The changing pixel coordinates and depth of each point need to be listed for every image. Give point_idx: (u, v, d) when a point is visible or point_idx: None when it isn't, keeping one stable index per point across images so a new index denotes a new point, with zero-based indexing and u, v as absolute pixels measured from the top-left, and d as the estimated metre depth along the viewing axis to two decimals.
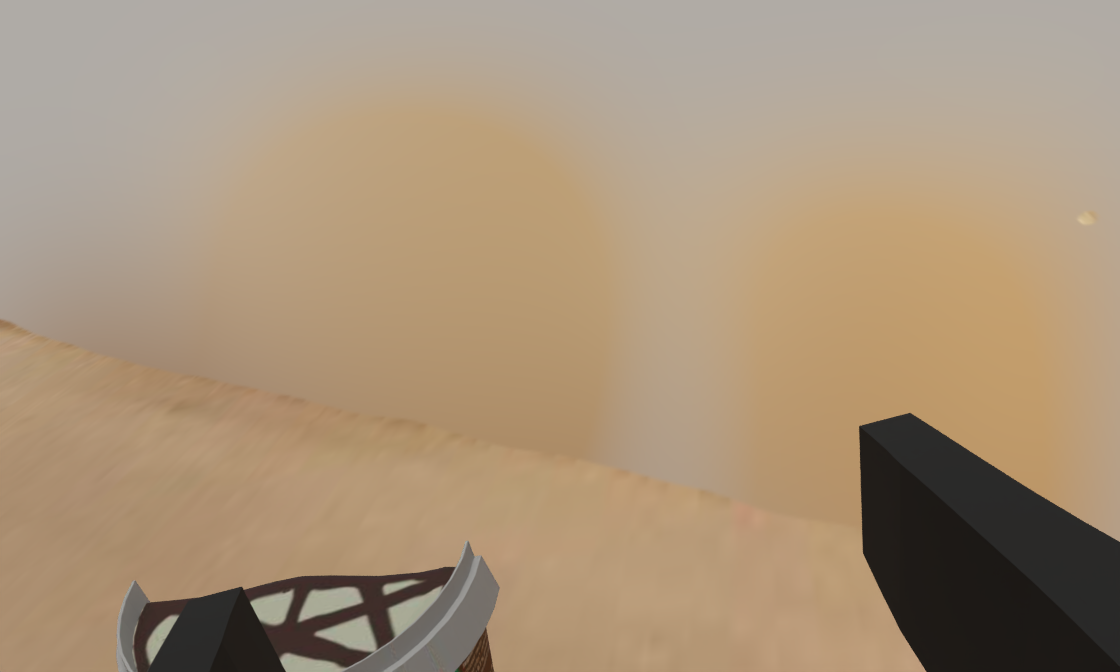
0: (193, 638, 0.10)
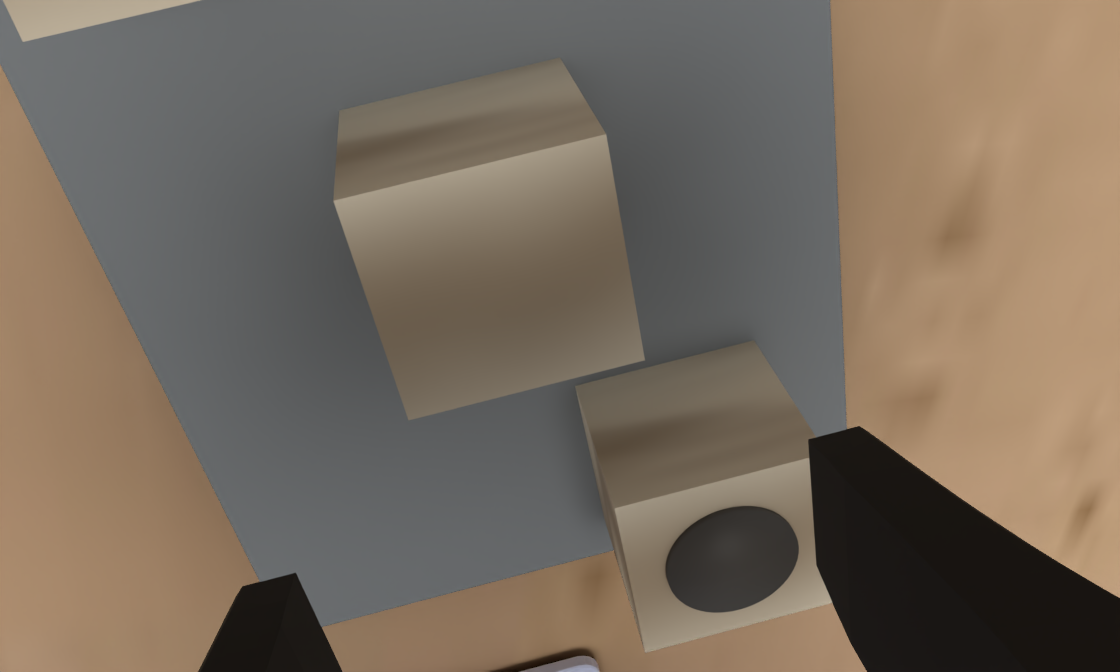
0: (252, 623, 0.10)
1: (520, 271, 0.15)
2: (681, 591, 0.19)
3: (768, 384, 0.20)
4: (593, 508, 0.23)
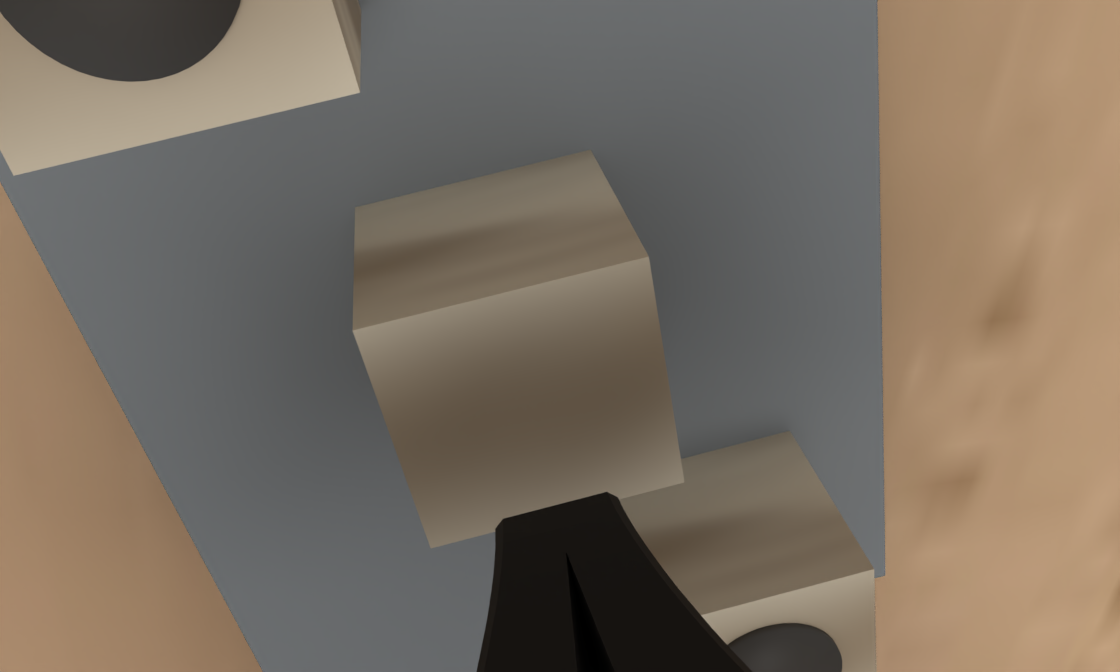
0: (533, 549, 0.10)
1: (552, 396, 0.14)
2: None
3: (807, 484, 0.19)
4: None
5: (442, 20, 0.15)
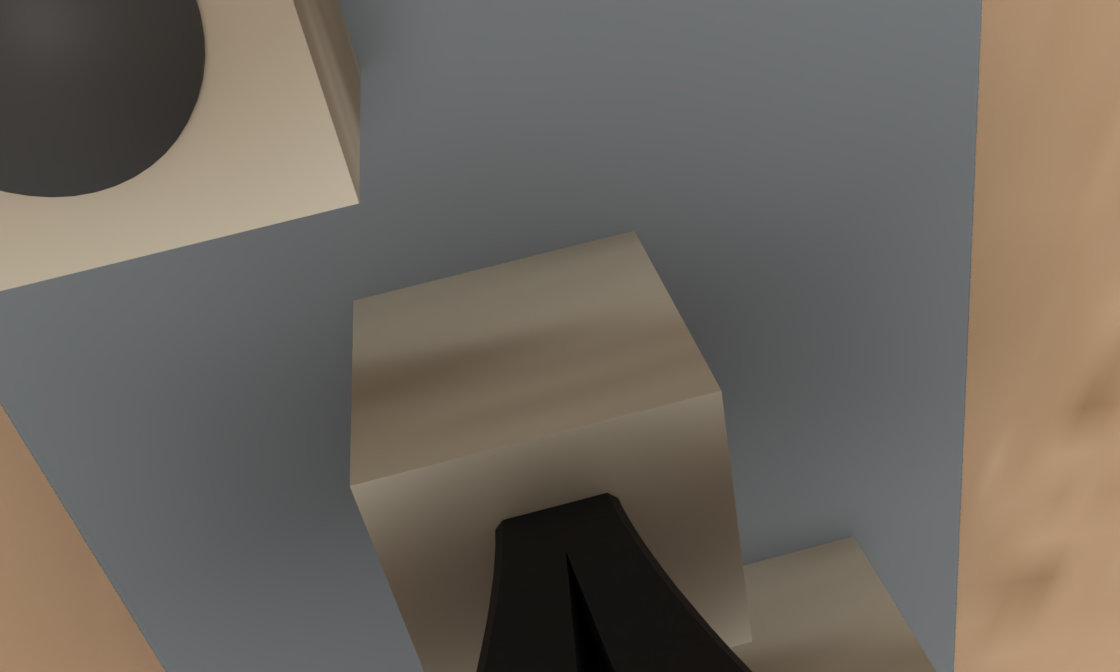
0: (532, 549, 0.10)
1: None
2: None
3: (880, 607, 0.16)
4: None
5: (459, 83, 0.12)
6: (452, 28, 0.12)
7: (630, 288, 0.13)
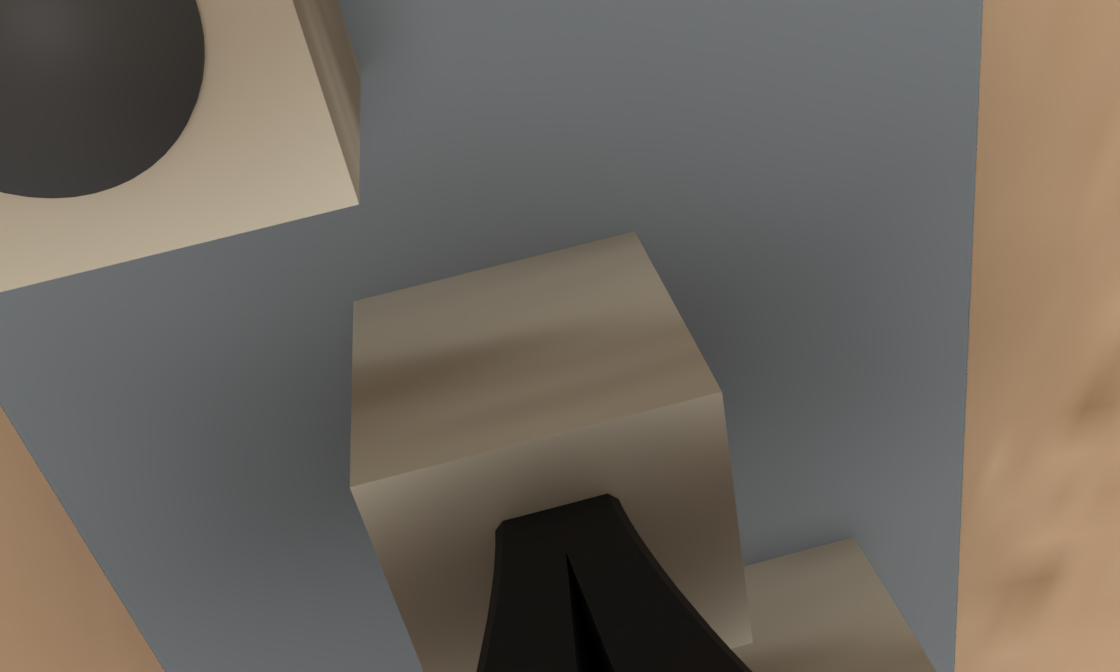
0: (532, 549, 0.10)
1: None
2: None
3: (880, 608, 0.16)
4: None
5: (459, 84, 0.12)
6: (452, 28, 0.12)
7: (630, 289, 0.13)
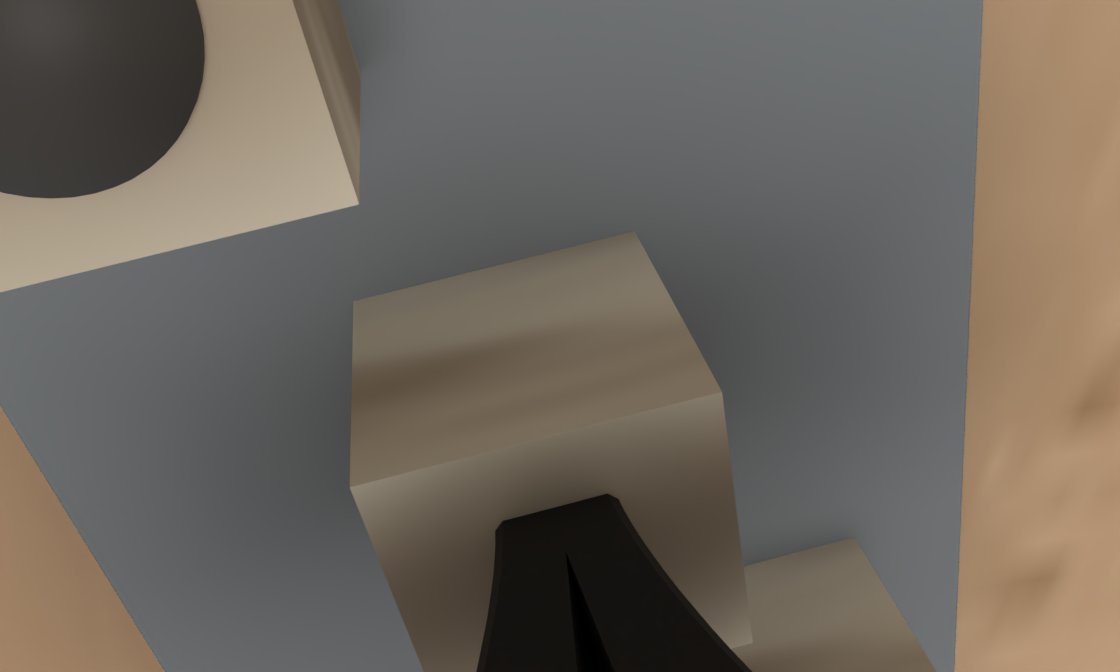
0: (532, 549, 0.10)
1: None
2: None
3: (880, 608, 0.16)
4: None
5: (459, 83, 0.12)
6: (452, 28, 0.12)
7: (630, 289, 0.13)
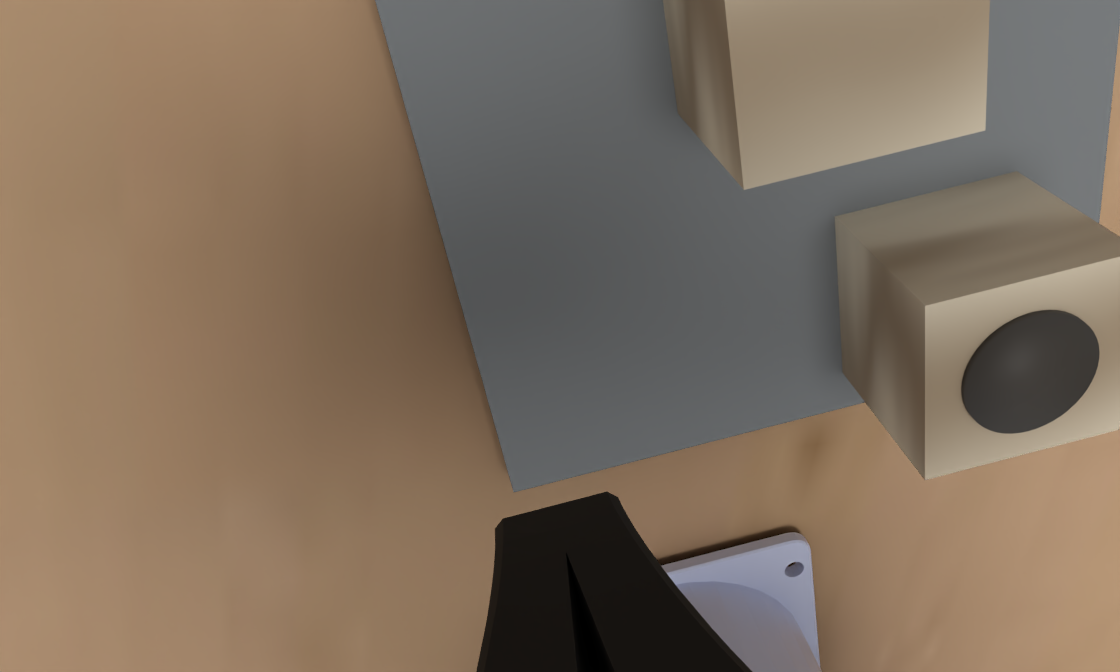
0: (532, 549, 0.10)
1: (883, 17, 0.15)
2: (975, 406, 0.18)
3: (1049, 203, 0.20)
4: (833, 357, 0.23)
5: None
6: None
7: None
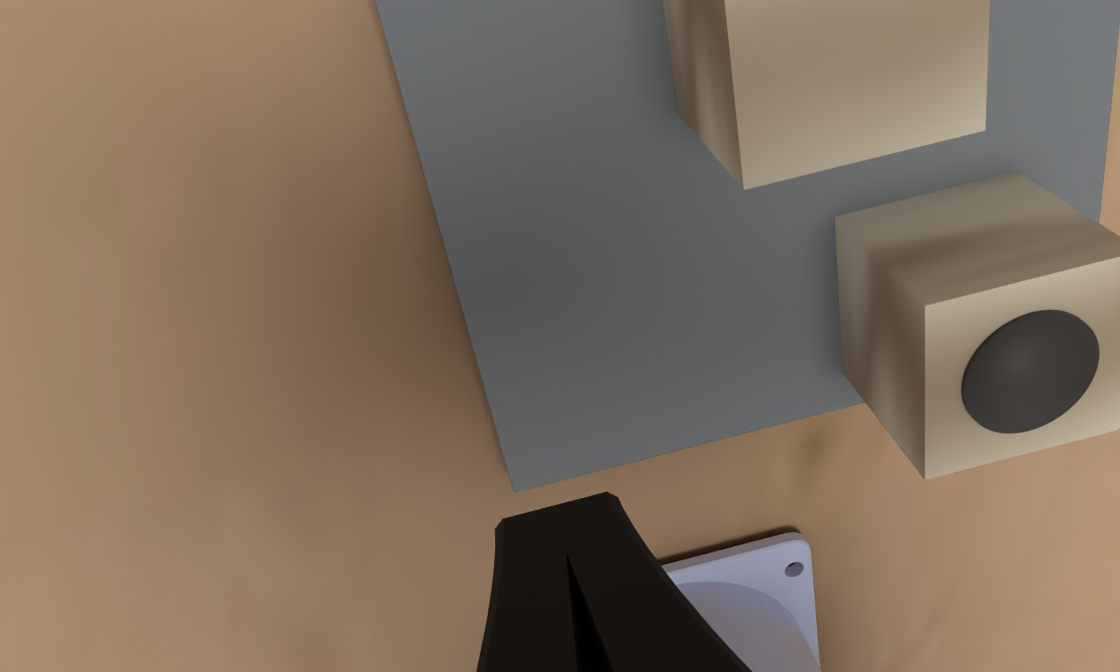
0: (532, 549, 0.10)
1: (883, 17, 0.15)
2: (975, 406, 0.18)
3: (1049, 203, 0.20)
4: (833, 357, 0.23)
5: None
6: None
7: None
